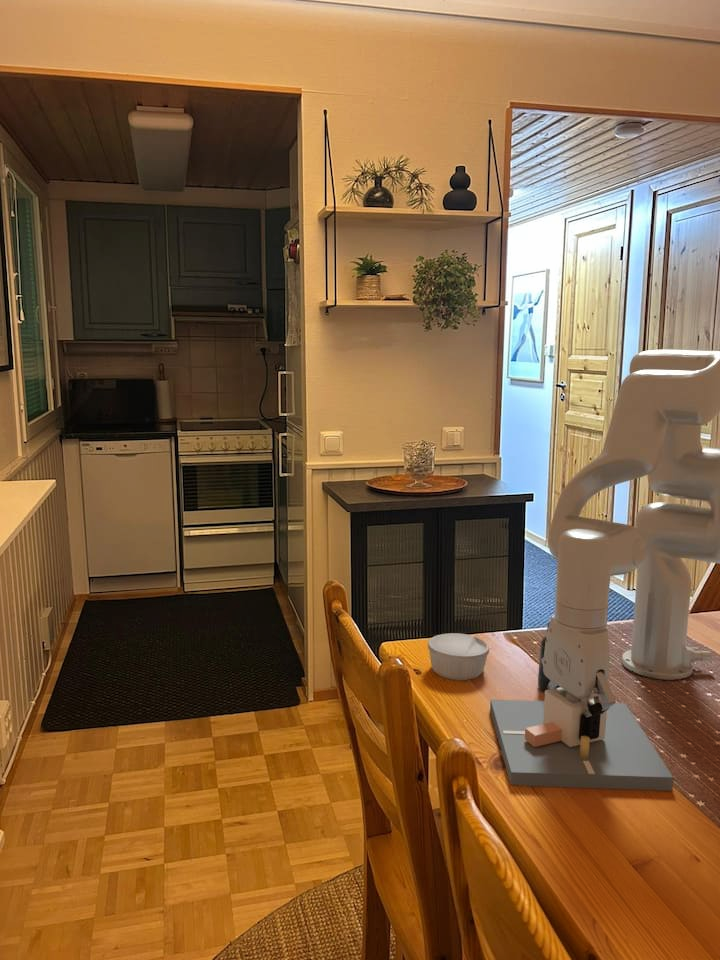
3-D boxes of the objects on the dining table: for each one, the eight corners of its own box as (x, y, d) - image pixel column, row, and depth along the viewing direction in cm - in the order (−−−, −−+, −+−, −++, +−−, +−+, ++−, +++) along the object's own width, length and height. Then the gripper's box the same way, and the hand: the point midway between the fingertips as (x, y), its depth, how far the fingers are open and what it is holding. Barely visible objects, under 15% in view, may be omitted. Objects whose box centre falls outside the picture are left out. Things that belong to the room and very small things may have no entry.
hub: (576, 719, 121) (578, 683, 120) (604, 738, 115) (607, 700, 114) (516, 733, 116) (518, 695, 115) (543, 753, 110) (545, 714, 109)
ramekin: (497, 680, 140) (498, 653, 139) (439, 686, 137) (440, 658, 136) (473, 656, 151) (474, 630, 150) (419, 661, 148) (420, 635, 147)
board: (624, 714, 127) (628, 665, 126) (672, 790, 106) (677, 732, 104) (490, 710, 128) (492, 661, 127) (510, 785, 106) (513, 727, 105)
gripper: (524, 598, 120) (519, 706, 123) (599, 638, 104) (590, 760, 107) (564, 593, 122) (558, 699, 125) (643, 630, 107) (633, 750, 110)
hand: (573, 726), depth 116 cm, fingers closed on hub, 6 cm apart
